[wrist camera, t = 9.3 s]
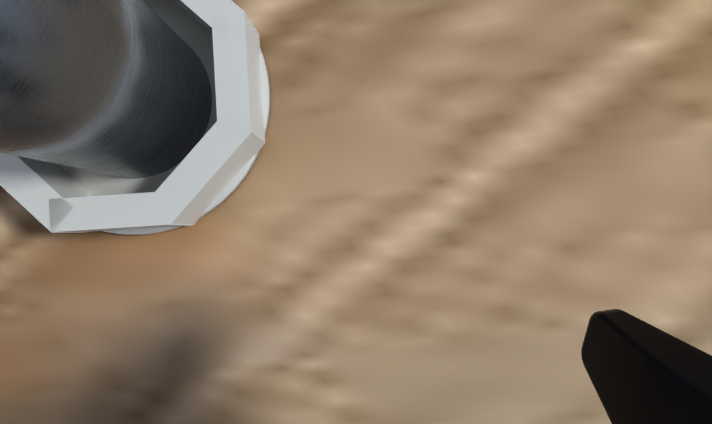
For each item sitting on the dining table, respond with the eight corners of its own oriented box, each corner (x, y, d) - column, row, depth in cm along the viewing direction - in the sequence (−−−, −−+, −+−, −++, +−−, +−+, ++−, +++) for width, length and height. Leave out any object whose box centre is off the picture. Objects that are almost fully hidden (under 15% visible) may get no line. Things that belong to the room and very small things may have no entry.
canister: (240, 139, 18) (-101, -79, 5) (95, 207, 18) (-582, 156, 5) (175, -4, 19) (-305, -549, 6) (33, 63, 19) (-755, -311, 6)
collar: (278, 225, 19) (262, 225, 16) (14, 242, 19) (-38, 244, 17) (262, -41, 19) (245, -80, 16) (4, -19, 19) (-50, -55, 17)
